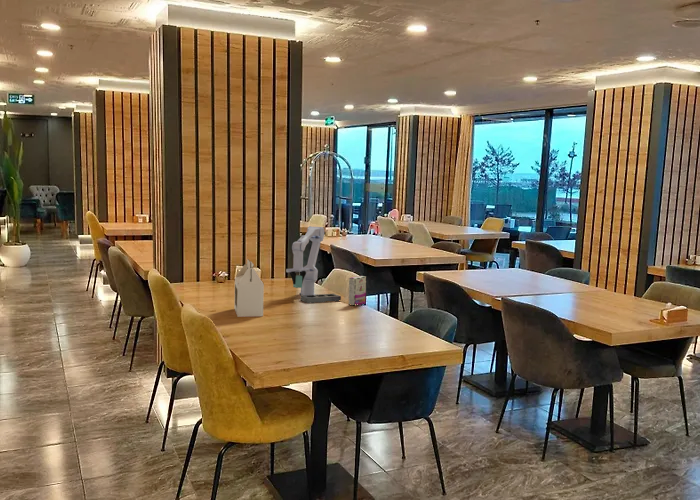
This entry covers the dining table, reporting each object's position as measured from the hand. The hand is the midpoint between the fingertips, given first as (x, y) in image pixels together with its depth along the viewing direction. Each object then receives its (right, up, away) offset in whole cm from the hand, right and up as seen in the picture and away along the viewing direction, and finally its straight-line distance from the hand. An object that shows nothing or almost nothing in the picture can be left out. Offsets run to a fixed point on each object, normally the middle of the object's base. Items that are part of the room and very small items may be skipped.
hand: (297, 283), depth 382 cm
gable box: (-23, -13, -44) cm, 51 cm away
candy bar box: (+36, -12, -11) cm, 39 cm away
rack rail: (+14, -10, -3) cm, 18 cm away
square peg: (0, -2, 0) cm, 2 cm away
